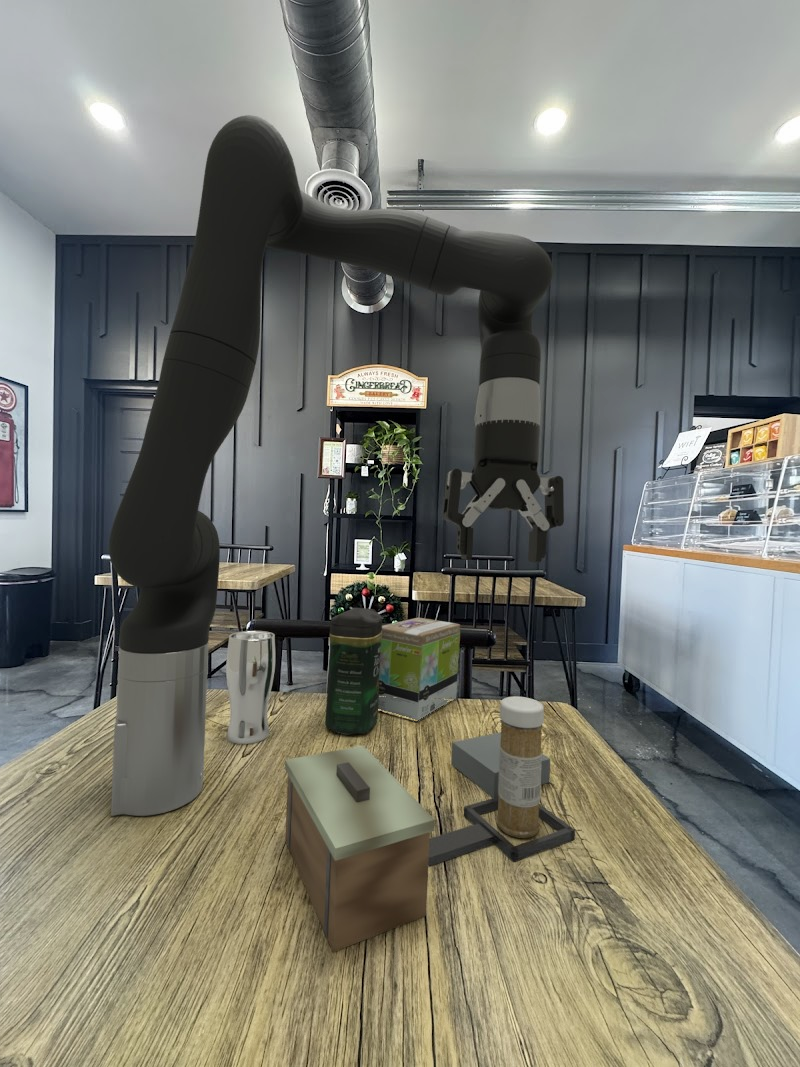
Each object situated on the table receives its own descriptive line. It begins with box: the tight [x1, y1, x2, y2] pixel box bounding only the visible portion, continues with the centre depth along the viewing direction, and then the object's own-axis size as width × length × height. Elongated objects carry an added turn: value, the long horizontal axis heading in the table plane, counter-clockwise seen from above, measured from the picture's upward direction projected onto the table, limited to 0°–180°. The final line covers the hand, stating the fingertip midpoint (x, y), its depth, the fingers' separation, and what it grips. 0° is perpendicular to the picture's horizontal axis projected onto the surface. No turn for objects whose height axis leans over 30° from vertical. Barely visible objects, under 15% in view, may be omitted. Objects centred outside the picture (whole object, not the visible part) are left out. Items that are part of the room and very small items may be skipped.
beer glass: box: [225, 630, 276, 745], centre depth 71 cm, size 7×7×15 cm
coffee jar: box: [324, 607, 383, 736], centre depth 76 cm, size 10×8×19 cm
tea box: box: [378, 617, 461, 721], centre depth 86 cm, size 15×10×15 cm
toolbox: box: [284, 744, 436, 953], centre depth 43 cm, size 8×15×9 cm, turn 28°
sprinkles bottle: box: [496, 696, 545, 839], centre depth 51 cm, size 5×5×14 cm
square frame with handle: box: [428, 797, 576, 867], centre depth 49 cm, size 16×8×1 cm, turn 118°
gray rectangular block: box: [450, 731, 551, 798], centre depth 62 cm, size 9×9×3 cm
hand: (501, 561), depth 56 cm, fingers open, 8 cm apart
